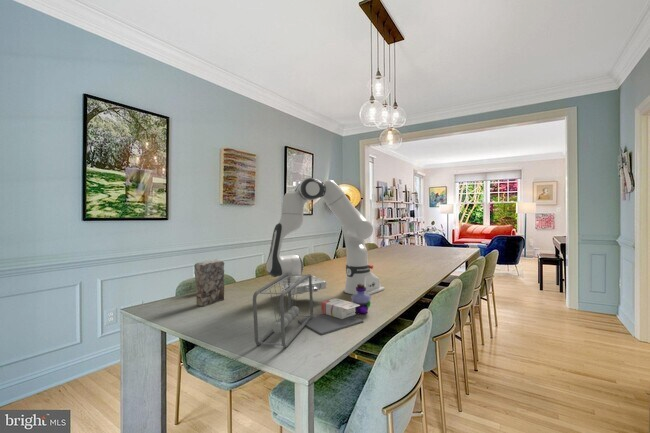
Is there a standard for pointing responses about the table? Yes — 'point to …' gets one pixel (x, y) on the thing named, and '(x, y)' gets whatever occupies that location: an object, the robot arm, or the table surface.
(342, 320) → the mat
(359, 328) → the table surface
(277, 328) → the newton's cradle
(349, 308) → the ink cartridge box
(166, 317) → the table surface
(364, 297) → the potion bottle
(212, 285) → the stone block
